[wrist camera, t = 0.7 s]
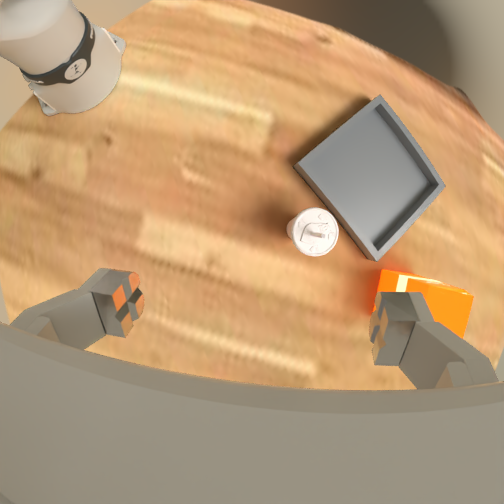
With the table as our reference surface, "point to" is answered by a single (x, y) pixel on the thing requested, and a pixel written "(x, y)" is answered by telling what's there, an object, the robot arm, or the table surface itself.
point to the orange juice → (433, 297)
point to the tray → (372, 177)
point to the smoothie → (313, 231)
